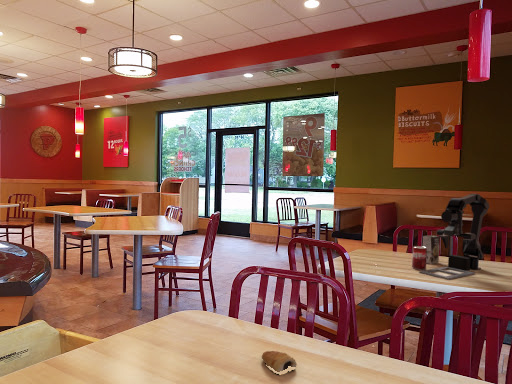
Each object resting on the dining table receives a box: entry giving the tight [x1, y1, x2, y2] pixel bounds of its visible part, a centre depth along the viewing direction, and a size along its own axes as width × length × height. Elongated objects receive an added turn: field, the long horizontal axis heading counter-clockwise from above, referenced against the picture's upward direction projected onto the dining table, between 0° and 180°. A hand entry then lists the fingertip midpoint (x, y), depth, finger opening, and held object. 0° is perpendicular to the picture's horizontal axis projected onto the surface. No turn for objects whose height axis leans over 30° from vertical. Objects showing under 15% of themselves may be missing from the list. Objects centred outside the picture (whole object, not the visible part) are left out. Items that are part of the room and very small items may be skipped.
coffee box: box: [422, 234, 441, 265], centre depth 232 cm, size 9×6×16 cm
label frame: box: [418, 266, 476, 281], centre depth 205 cm, size 26×16×1 cm, turn 125°
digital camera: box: [447, 254, 471, 271], centre depth 219 cm, size 10×5×7 cm, turn 36°
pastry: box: [261, 350, 298, 372], centre depth 96 cm, size 9×7×4 cm
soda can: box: [411, 245, 427, 271], centre depth 214 cm, size 7×7×12 cm
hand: (454, 250), depth 208 cm, fingers open, 9 cm apart
